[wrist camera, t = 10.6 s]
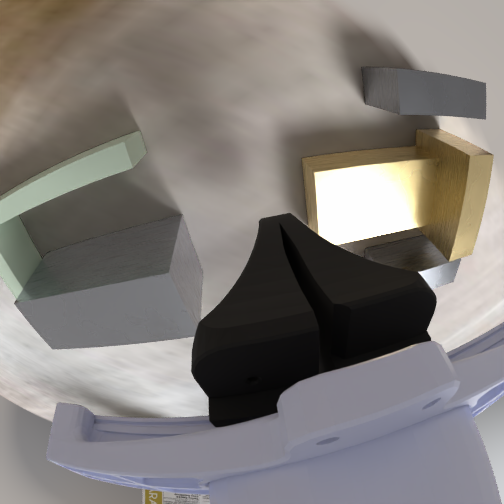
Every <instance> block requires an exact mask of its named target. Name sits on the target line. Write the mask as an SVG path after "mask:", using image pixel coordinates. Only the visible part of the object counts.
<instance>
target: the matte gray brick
mask: <svg viewBox="0 0 504 504" xmlns="http://www.w3.org/2000/svg"><path fill="white" fill-rule="evenodd" d="M202 281H203V270H202V268H201V265H200V262H199V259H198V257H197V254H196V251H195V248H194V246H193V243H192V240H191V237H190V234H189V232H188V229H187V226H186V223H185V220H184V217H183V214H182V215H178V216H174V217H170V218H166V219H162V220H158V221H154V222H150V223H146V224H142V225H139V226H135V227H131V228H128V229H124V230H120V231H117V232H113V233H110V234H106V235H103V236H99V237H96V238H92V239H89V240H86V241H82V242H79V243H76V244H73V245H69V246H66V247H63V248H60V249H57V250H54V251H50V252H47V254H46V255H45V256H44V258H43V259H42V261H41V262H40V264H39V265H38V266H37V268H36V269H35V271H34V272H33V274H32V275H31V277H30V279H29V280H28V282H27V283H26V285H25V286H24V288H23V290H22V291H21V293H20V295H19V296H18V298H17V300H16V301H15V303H14V304H15V305H16V307H17V308H18V309H19V311H20V312H21V313H22V314H23V316H24V317H25V318H26V319H27V321H28V322H29V323H30V324H31V325H32V327H33V328H34V329H35V330H36V331H37V332H38V334H39V335H40V336H41V337H42V338H43V339H44V340H45V342H46V343H47V344H48V345H49V346H50V347H51V348H52V349H72V348H90V347H104V346H117V345H128V344H138V343H147V342H156V341H164V340H172V339H180V338H187V337H194V336H195V333H196V329H197V326H198V323H199V322H200V320H201V299H202Z"/></svg>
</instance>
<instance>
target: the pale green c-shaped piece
mask: <svg viewBox="0 0 504 504" xmlns="http://www.w3.org/2000/svg"><path fill="white" fill-rule="evenodd" d="M146 153H147V151H146V148H145V145H144V142H143V138H142V135H141V132H140V130H139V131H136V132H134V133H131V134H128V135H125V136H122V137H120V138H117V139H114V140H112V141H109V142H107V143H104V144H102V145H99V146H97V147H94V148H92V149H90V150H87V151H85V152H83V153H80V154H78V155H76V156H74V157H72V158H69V159H67V160H65V161H63V162H61V163H59V164H57V165H55V166H53V167H51V168H49V169H47V170H45V171H43V172H41V173H39V174H38V175H36V176H34V177H32V178H30V179H28V180H27V181H25V182H23V183H21V184H20V185H18V186H16V187H15V188H13V189H11V190H10V191H8V192H6V193H5V194H3V195H1V196H0V276H1V278H2V279H3V281H4V282H5V284H6V285H7V287H8V288H9V289H10V291H11V292H12V294H13V295H14V296H15V298H16V299H17V298H18V296H19V295H20V293H21V291H22V290H23V288H24V286H25V285H26V283H27V282H28V280H29V279H30V277H31V275H32V274H33V272H34V271H35V269H36V268H37V266H38V265H39V264H40V262H41V261H42V258H41V256H40V254H39V252H38V251H37V249H36V247H35V245H34V244H33V242H32V240H31V238H30V236H29V234H28V233H27V231H26V229H25V227H24V225H23V223H22V221H21V219H20V217H19V214H21V213H23V212H25V211H27V210H29V209H32V208H34V207H36V206H38V205H40V204H42V203H44V202H47V201H49V200H51V199H53V198H56V197H58V196H60V195H63V194H65V193H67V192H70V191H72V190H75V189H77V188H80V187H82V186H85V185H87V184H90V183H93V182H95V181H98V180H101V179H103V178H106V177H109V176H112V175H115V174H117V173H120V172H123V171H126V170H129V169H132V168H134V167H135V165H136V164H137V163H138V162H139V161H140V160H141V159H142V158H143V157H144V155H145V154H146Z"/></svg>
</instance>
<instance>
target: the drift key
mask: <svg viewBox="0 0 504 504" xmlns="http://www.w3.org/2000/svg"><path fill="white" fill-rule="evenodd" d="M493 156H494V155H493V154H491V153H489V152H487V151H485V150H483V149H481V148H479V147H477V146H475V145H473V144H471V143H469V142H467V141H465V140H463V139H461V138H459V137H457V136H454V135H452V134H450V133H448V132H445V131H443V130H441V129H416V146H406V147H392V148H380V149H369V150H359V151H350V152H342V153H334V154H326V155H319V156H312V157H306V158H302V167H303V176H304V186H305V196H306V206H307V218H308V227H309V228H310V229H311V230H313V231H314V232H315V233H317V234H318V235H320V236H321V237H323V238H325V239H326V240H328V241H329V242H331V243H333V244H335V245H337V244H341V243H346V242H351V241H356V240H360V239H365V238H370V237H374V236H379V235H384V234H388V233H393V232H398V231H402V230H407V229H411V228H416V227H417V228H418V229H419V230H420V231H421V232H422V233H423V234H424V235H425V236H426V237H427V238H428V239H429V240H430V241H431V243H432V244H433V245H434V246H435V247H436V248H437V249H438V250H439V251H440V252H441V253H442V255H443V256H444V257H445V258H446V259H447V260H448V261H449V262H450V261H453V260H456V259H459V258H462V257H465V256H468V255H471V254H472V252H473V249H474V246H475V242H476V239H477V235H478V232H479V228H480V224H481V220H482V216H483V212H484V208H485V203H486V199H487V194H488V188H489V183H490V177H491V171H492V164H493Z"/></svg>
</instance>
